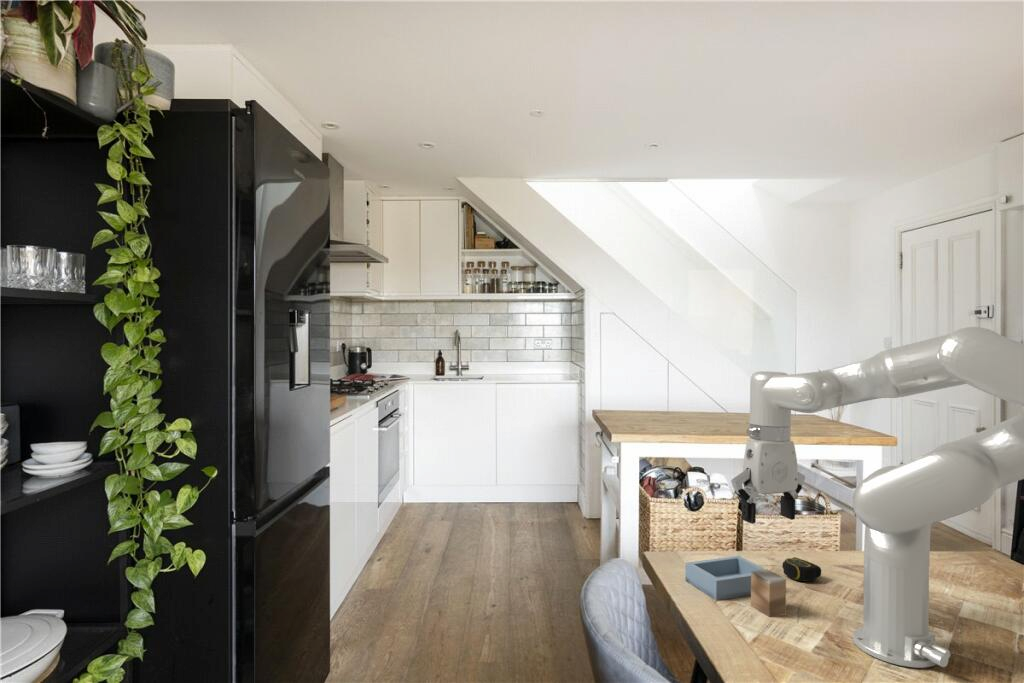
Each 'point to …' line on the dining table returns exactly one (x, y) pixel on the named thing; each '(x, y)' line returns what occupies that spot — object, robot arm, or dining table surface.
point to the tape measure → (801, 569)
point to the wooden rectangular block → (768, 592)
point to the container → (722, 576)
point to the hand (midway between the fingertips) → (768, 519)
